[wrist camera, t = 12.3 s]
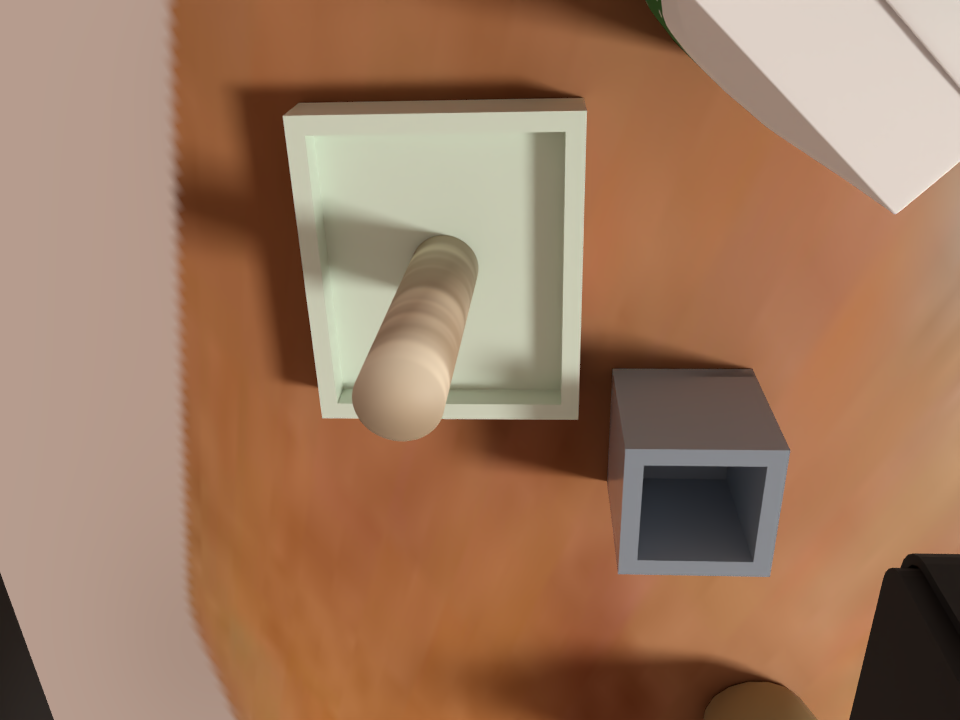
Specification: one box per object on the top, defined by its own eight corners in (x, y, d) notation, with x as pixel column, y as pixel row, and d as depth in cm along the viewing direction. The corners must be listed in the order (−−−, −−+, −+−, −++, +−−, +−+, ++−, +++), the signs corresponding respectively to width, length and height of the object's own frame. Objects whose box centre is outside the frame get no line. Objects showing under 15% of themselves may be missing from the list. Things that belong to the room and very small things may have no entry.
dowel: (410, 233, 38) (349, 357, 27) (479, 236, 38) (444, 362, 27) (412, 297, 39) (354, 438, 29) (478, 300, 39) (445, 443, 28)
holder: (612, 368, 42) (625, 448, 35) (752, 368, 41) (790, 450, 35) (607, 481, 45) (618, 574, 38) (737, 483, 44) (769, 576, 38)
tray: (298, 102, 37) (282, 115, 34) (583, 97, 36) (586, 110, 34) (333, 390, 43) (322, 418, 41) (576, 392, 42) (578, 419, 40)
